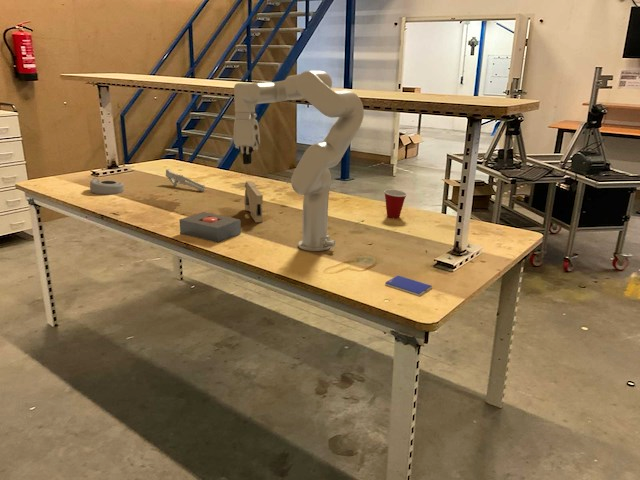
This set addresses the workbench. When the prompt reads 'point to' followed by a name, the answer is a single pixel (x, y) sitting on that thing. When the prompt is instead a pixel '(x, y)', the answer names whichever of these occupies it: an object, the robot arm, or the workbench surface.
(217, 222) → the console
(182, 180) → the gun
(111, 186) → the turbocharger housing
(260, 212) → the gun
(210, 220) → the button
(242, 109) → the robot arm
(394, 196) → the plastic cup
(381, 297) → the workbench surface
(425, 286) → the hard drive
